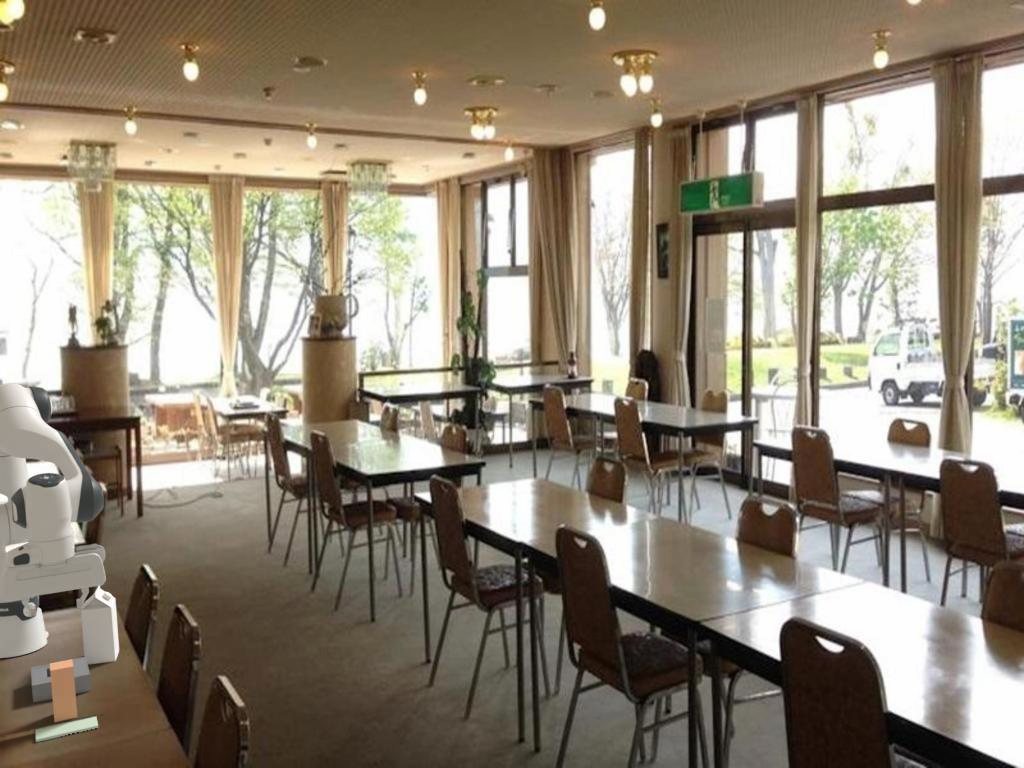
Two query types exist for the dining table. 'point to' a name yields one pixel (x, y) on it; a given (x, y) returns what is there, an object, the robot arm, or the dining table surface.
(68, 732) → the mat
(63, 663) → the block
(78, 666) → the holder
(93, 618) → the milk carton
